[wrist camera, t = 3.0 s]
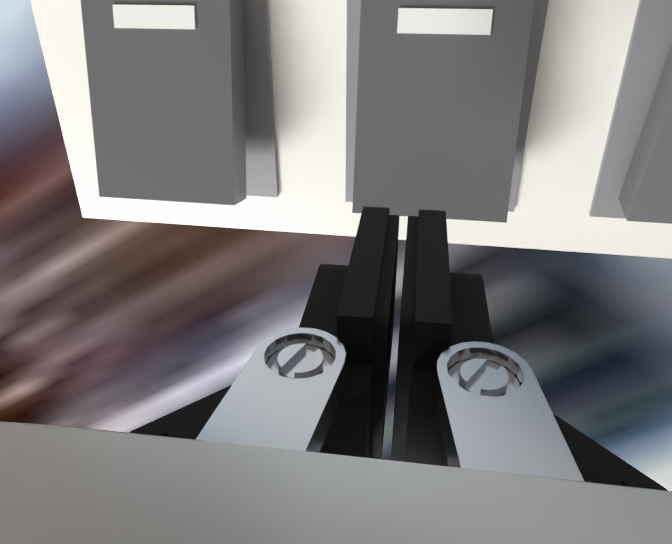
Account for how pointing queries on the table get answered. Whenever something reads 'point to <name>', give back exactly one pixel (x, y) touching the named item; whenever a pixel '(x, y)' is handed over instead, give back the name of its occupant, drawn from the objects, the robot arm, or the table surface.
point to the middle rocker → (439, 105)
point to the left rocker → (167, 98)
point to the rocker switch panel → (340, 124)
